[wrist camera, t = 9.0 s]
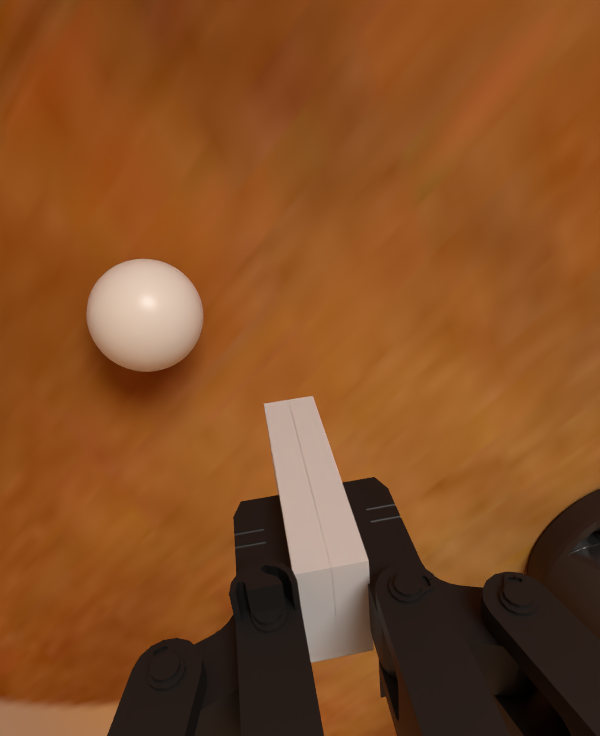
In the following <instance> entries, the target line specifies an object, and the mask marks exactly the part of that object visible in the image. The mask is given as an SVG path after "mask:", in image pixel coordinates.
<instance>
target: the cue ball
mask: <svg viewBox="0 0 600 736" xmlns="http://www.w3.org/2000/svg"><path fill="white" fill-rule="evenodd" d="M86 316H87V324H88V328H89V332H90V334H91V337H92V339H93V341H94V342H95V344H96V346H97V347H98V348H99V349H100V351H101V352H102V353H103V354H104V355H105V356H106V357H107V358H109V359H110V360H111V361H113V362H114V363H116V364H118V365H120V366H122V367H125V368H127V369H131V370H134V371H141V372H151V371H158V370H163V369H166V368H169V367H171V366H173V365H175V364H176V363H178V362H180V361H181V360H182V359H184V358H185V357H186V356H187V355H188V354H189V353H190V352H191V351H192V349H193V348H194V346H195V345H196V343H197V341H198V339H199V337H200V334H201V331H202V327H203V307H202V303H201V299H200V297H199V294H198V292H197V290H196V288H195V287H194V285H193V284H192V282H191V281H190V280H189V279H188V278H187V277H186V276H185V275H184V274H183V273H182V272H180V271H179V270H178V269H176V268H175V267H173V266H171V265H169V264H167V263H164V262H161V261H157V260H151V259H135V260H129V261H126V262H123V263H120V264H118V265H116V266H114V267H113V268H111V269H110V270H108V271H107V272H106V273H105V274H104V275H103V276H102V277H101V278H100V279H99V280H98V281H97V283H96V284H95V285H94V287H93V289H92V291H91V293H90V296H89V299H88V304H87V313H86Z"/></svg>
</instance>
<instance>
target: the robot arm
mask: <svg viewBox="0 0 600 736" xmlns="http://www.w3.org/2000/svg"><path fill="white" fill-rule="evenodd" d="M264 407H265V414H266V420H267V427H268V434H269V440H270V447H271V454H272V460H273V467H274V474H275V480H276V486H277V492H278V495H276V496H271V497H265V498H259V499H253V500H248V501H242V502H241V503H240V505H239V507H238V509H237V511H236V513H235V515H234V534H235V555H236V577H235V578H234V579H233V581H232V582H231V586H230V592H229V596H230V600H231V605H232V609H233V613H234V614H233V616H232V617H231V619H230V620H229V622H228V623H227V624H226V625H225V626H224V627H223V628H222V629H221V630H219V631H218V632H216V633H215V634H213V635H212V636H210V637H208V638H206V639H204V640H202V641H200V642H198V643H196V644H195V645H193V644H192V643H191V642H190V641H188V640H183V639H179V638H174V639H168V640H163V641H161V642H159V643H157V644H155V645H153V646H151V647H150V648H149V649H148V650H147V651H146V652H144V653H143V654H142V655H141V656H140V657H139V659H138V661H137V662H136V664H135V666H134V668H133V669H132V672H131V674H130V677H129V679H128V682H127V685H126V687H125V690H124V693H123V695H122V698H121V701H120V703H119V706H118V708H117V711H116V714H115V716H114V719H113V722H112V724H111V727H110V730H109V732H108V735H107V736H324V733H323V728H322V722H321V716H320V711H319V705H318V700H317V694H316V688H315V683H314V677H313V672H312V666H311V663H312V662H317V661H322V660H327V659H332V658H336V657H341V656H346V655H351V654H356V653H361V652H366V651H371V650H373V640H374V644H375V647H376V651H377V654H378V657H379V675H380V692H381V697H386V698H387V702H388V705H389V709H390V712H391V716H392V719H393V723H394V726H395V729H396V733H397V736H600V489H599V490H597V491H595V492H593V493H591V494H589V495H588V496H586V497H584V498H583V499H581V500H579V501H578V502H576V503H575V504H574V505H572V506H571V507H569V508H568V509H567V510H566V511H564V512H563V513H562V514H561V515H560V516H559V517H558V518H557V519H556V520H555V521H554V522H553V523H552V524H551V525H550V526H549V527H548V528H547V530H546V531H545V532H544V533H543V535H542V536H541V538H540V539H539V541H538V542H537V544H536V546H535V548H534V550H533V552H532V554H531V557H530V560H529V564H528V569H527V575H524V574H522V573H516V572H503V573H499V574H495V575H493V576H492V577H491V578H489V579H488V580H487V581H486V583H485V585H484V587H483V588H481V587H470V586H460V585H455V584H450V583H447V582H445V581H442V580H440V579H438V578H437V577H435V576H434V575H433V574H432V573H431V572H429V571H428V570H427V569H426V568H425V567H424V565H423V564H422V562H421V560H420V558H419V556H418V554H417V552H416V549H415V547H414V545H413V543H412V541H411V538H410V536H409V534H408V532H407V530H406V527H405V525H404V523H403V521H402V519H401V518H400V514H399V512H398V510H397V507H396V506H395V503H394V501H393V499H392V496H391V494H390V492H389V490H388V488H387V487H386V486H384V485H383V484H382V483H381V482H380V481H378V480H377V479H376V478H375V477H372V478H366V479H360V480H355V481H349V482H343V483H342V481H341V478H340V475H339V472H338V469H337V466H336V463H335V460H334V457H333V454H332V451H331V448H330V445H329V442H328V440H327V437H326V434H325V431H324V428H323V425H322V422H321V419H320V416H319V413H318V410H317V407H316V404H315V401H314V398H313V396H310V397H303V398H297V399H291V400H285V401H278V402H272V403H266V404H264Z"/></svg>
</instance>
